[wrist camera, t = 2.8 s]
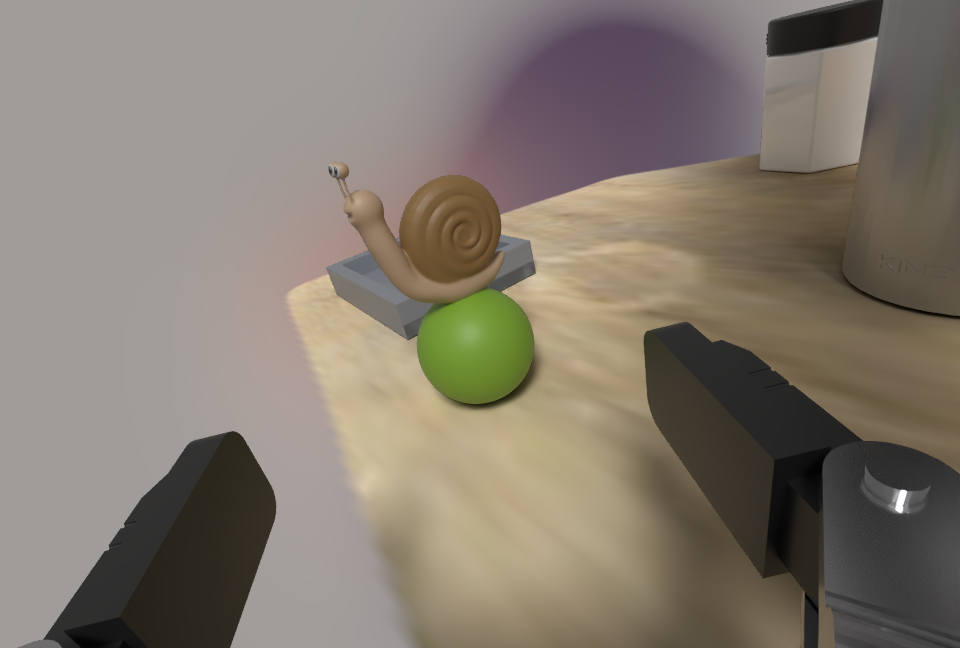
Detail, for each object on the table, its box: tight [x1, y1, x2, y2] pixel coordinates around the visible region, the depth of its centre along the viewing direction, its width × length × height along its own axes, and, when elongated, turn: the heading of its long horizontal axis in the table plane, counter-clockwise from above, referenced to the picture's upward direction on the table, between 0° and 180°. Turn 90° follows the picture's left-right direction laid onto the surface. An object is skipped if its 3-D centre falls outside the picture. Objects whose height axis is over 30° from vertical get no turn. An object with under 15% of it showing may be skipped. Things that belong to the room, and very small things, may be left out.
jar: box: [760, 0, 884, 173], centre depth 41 cm, size 9×8×12 cm
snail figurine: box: [329, 162, 534, 404], centre depth 20 cm, size 5×6×12 cm
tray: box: [326, 235, 536, 340], centre depth 37 cm, size 11×13×2 cm
